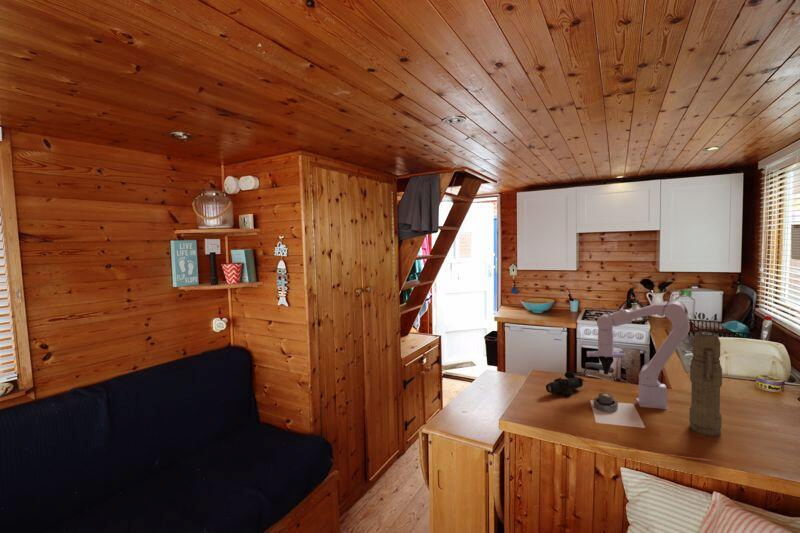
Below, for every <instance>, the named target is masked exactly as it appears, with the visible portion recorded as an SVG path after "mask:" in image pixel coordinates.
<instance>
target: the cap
mask: <svg viewBox="0 0 800 533" xmlns="http://www.w3.org/2000/svg"><path fill="white" fill-rule="evenodd" d="M598 397H599V403H600V404H603V405H613V399H614V398H613V395H612V394H610V393H606V392H600V393H598Z"/></svg>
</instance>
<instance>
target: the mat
mask: <svg viewBox="0 0 800 533" xmlns="http://www.w3.org/2000/svg"><path fill="white" fill-rule="evenodd" d="M589 401H590V405H591V409H592V412H593V417H594V420H595V423H596V424H603V425H611V426H623V427H629V428H630V427H631V428H642V429H646V426H645V424H644V422H643V421H642V418H641V416H640V414H639V412H638V410H637V408H636V407H635V403H629V402H627V403H625V402H617V403H618V409H617V411H616V412H611V413H609V412H602V411H599V410H597V409H595V408H594V404H593V399H591V400H589Z"/></svg>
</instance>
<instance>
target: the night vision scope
mask: <svg viewBox="0 0 800 533" xmlns="http://www.w3.org/2000/svg"><path fill="white" fill-rule="evenodd" d="M564 377H565V378H562V377H558V378H555V379H554V380H553V381H552V382H548V384H546V385H545V389H546V392H547V393H549V394H558V393H561V394H562V396H563V397H568V396H569V397H570V396H572V394H574V392H573V390H577V389H579V388H582V387H583V385H584V383H583V382H585V380H584V378H582V377H578V376H576V375H575V373H573V372H571V371H566V372H565V373H564Z"/></svg>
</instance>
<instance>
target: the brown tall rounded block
mask: <svg viewBox="0 0 800 533" xmlns="http://www.w3.org/2000/svg"><path fill="white" fill-rule="evenodd" d="M720 358H721V340H720V338H719V335H718V334H716V333H714V332H711V331H705V330H703V331H697V332H695V334H694V336H693V339H692V359H691V360H692V361H691V363H690V365H689V381H690V382H691V406H690V407H689V413H688V414H689V417H688V418H689V420H688V421H689V427H690V429H691V430H692V431H693V432H694V433H696V434H698V435H701V436H704V437H710V438H711V437H713V438H715V437H720V436H721V435H722V430H721V428H722V425H723V424H722V423H723V422H722V418H723V417H722V414H721V410H720V408H721V387H722V385H723V367H722V365H721V360H720Z"/></svg>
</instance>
